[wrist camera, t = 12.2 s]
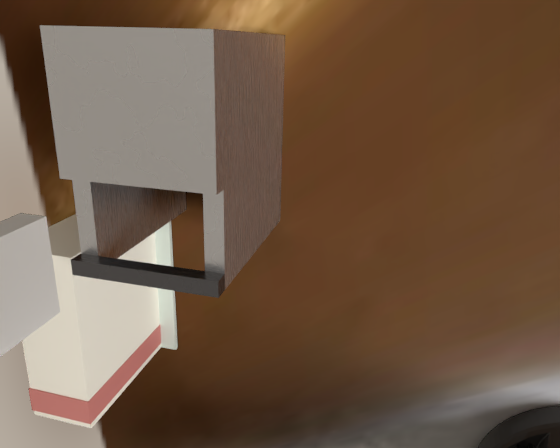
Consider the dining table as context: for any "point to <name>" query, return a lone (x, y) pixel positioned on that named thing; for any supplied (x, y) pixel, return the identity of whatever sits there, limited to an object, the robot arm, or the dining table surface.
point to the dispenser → (167, 143)
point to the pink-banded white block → (90, 335)
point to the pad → (166, 296)
